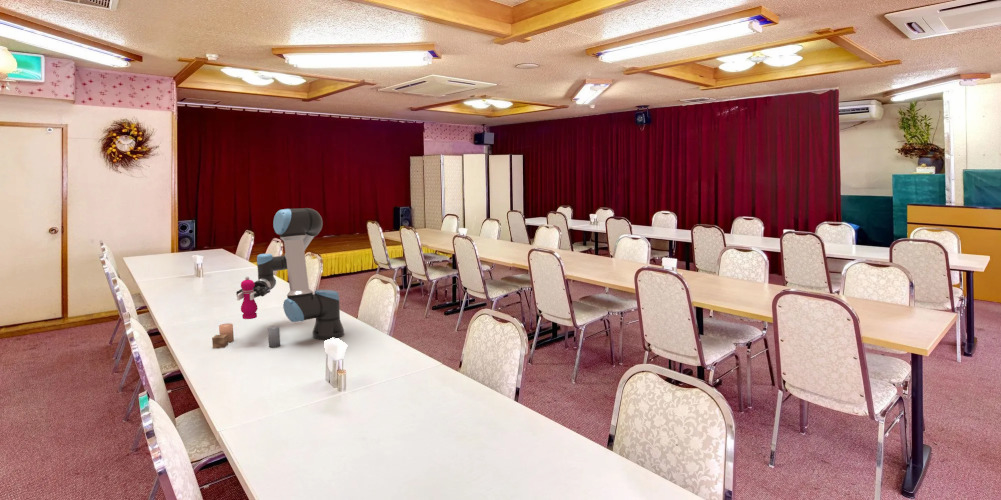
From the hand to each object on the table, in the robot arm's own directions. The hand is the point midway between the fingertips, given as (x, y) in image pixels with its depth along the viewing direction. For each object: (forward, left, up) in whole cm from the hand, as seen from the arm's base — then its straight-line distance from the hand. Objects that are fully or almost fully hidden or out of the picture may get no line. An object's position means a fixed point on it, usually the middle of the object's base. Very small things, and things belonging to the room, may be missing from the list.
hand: (244, 297), depth 249 cm
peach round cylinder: (+13, -10, -24) cm, 29 cm away
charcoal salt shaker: (-12, 0, -24) cm, 27 cm away
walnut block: (+13, -2, -24) cm, 27 cm away
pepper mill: (0, -5, -11) cm, 12 cm away
